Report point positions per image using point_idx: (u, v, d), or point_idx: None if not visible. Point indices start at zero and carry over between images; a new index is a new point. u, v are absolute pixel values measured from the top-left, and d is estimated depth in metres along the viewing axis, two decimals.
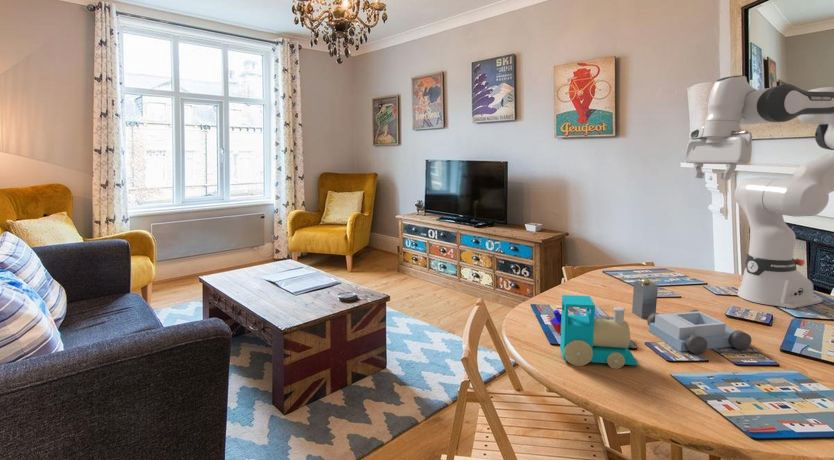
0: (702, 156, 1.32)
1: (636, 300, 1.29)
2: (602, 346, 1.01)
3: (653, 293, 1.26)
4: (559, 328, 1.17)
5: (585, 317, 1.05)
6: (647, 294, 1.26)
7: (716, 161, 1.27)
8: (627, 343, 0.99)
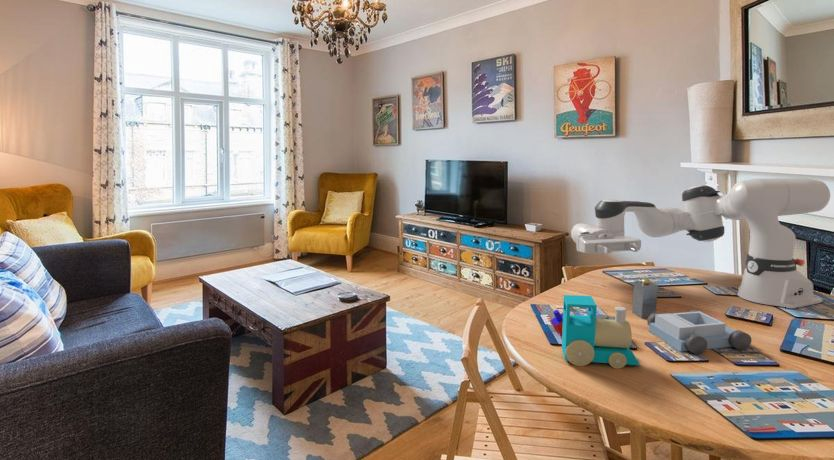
0: (603, 240, 1.45)
1: (636, 300, 1.29)
2: (603, 346, 1.01)
3: (653, 293, 1.26)
4: (559, 328, 1.17)
5: (587, 317, 1.05)
6: (647, 294, 1.26)
7: (620, 241, 1.44)
8: (629, 343, 0.99)
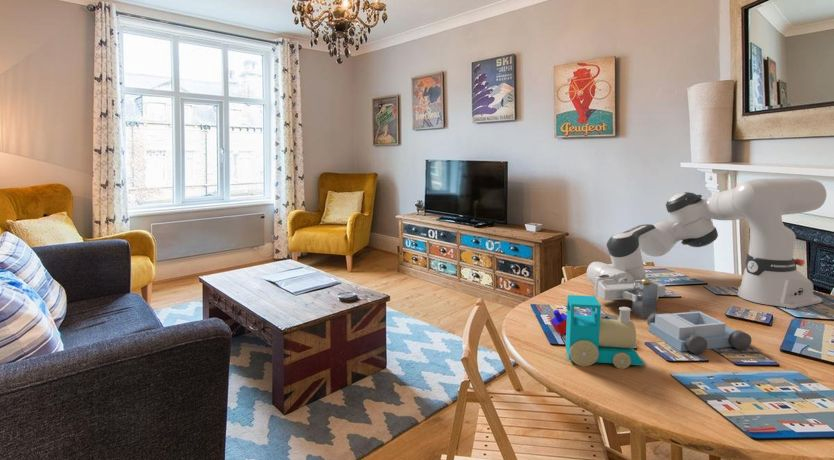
0: (624, 286, 1.34)
1: None
2: (608, 346, 1.01)
3: (653, 293, 1.26)
4: (559, 328, 1.17)
5: (590, 317, 1.04)
6: (647, 294, 1.26)
7: None
8: (633, 343, 0.99)
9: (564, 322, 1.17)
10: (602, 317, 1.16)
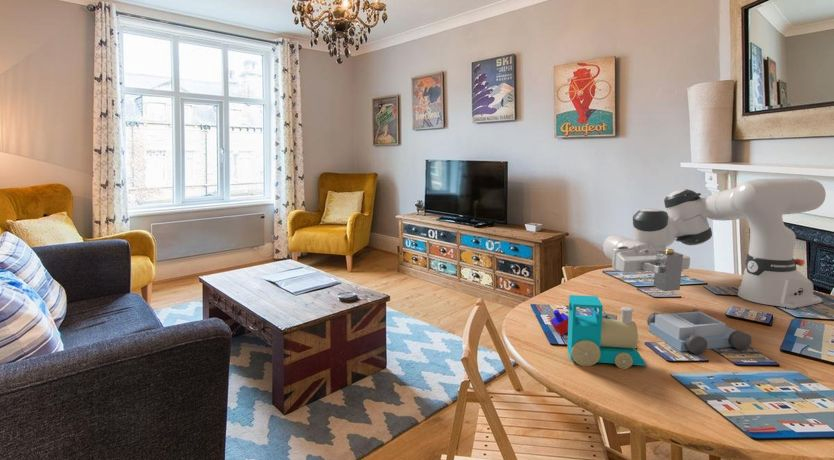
0: (645, 257, 1.23)
1: None
2: (609, 346, 1.01)
3: (678, 264, 1.16)
4: (559, 328, 1.17)
5: (592, 317, 1.04)
6: (670, 265, 1.16)
7: None
8: (635, 343, 0.99)
9: (564, 322, 1.17)
10: (602, 316, 1.17)
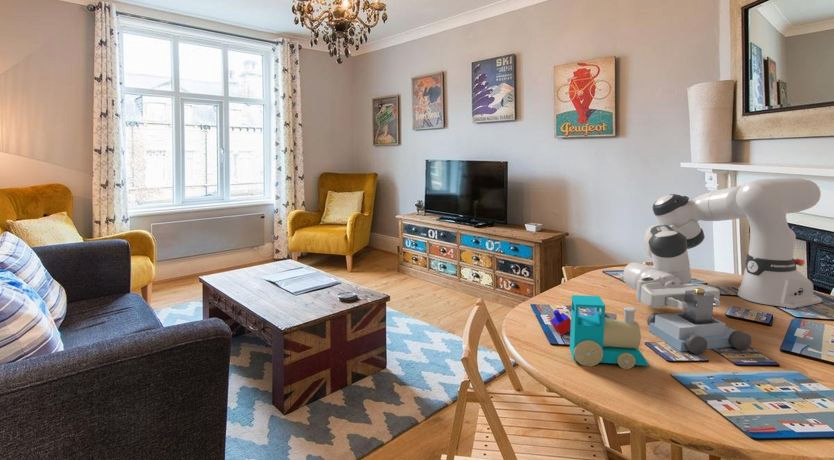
0: (673, 291, 1.17)
1: (688, 312, 1.12)
2: (612, 346, 1.01)
3: (709, 305, 1.10)
4: (559, 328, 1.17)
5: (595, 317, 1.04)
6: (701, 306, 1.09)
7: None
8: (638, 343, 0.98)
9: (564, 322, 1.17)
10: None
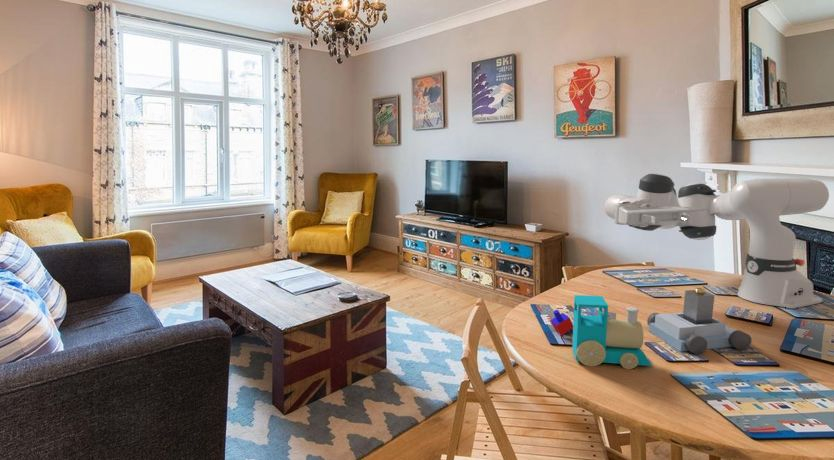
0: (647, 210, 1.25)
1: (688, 312, 1.12)
2: (615, 346, 1.01)
3: (709, 305, 1.10)
4: (559, 328, 1.17)
5: (598, 317, 1.04)
6: (701, 306, 1.09)
7: (668, 210, 1.24)
8: (640, 343, 0.98)
9: (564, 322, 1.17)
10: None
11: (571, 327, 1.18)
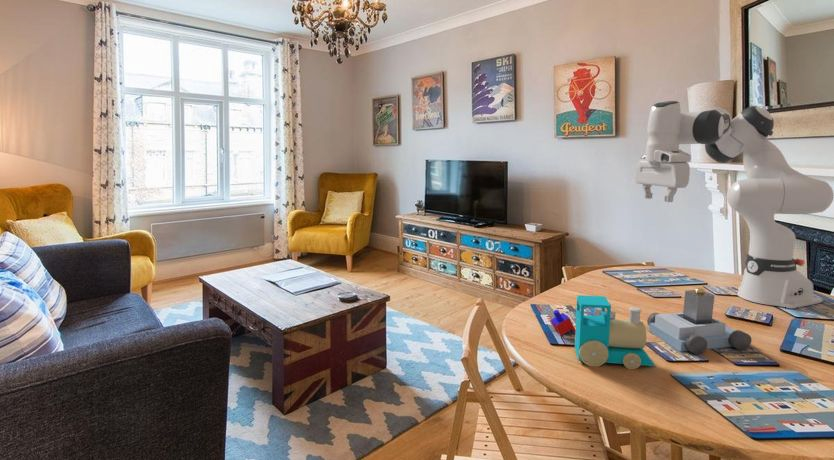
0: None
1: (688, 312, 1.12)
2: (617, 347, 1.01)
3: (709, 305, 1.10)
4: (559, 328, 1.17)
5: (600, 317, 1.04)
6: (701, 306, 1.09)
7: None
8: (643, 344, 0.98)
9: (564, 322, 1.17)
10: (600, 313, 1.19)
11: (571, 327, 1.18)
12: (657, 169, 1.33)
